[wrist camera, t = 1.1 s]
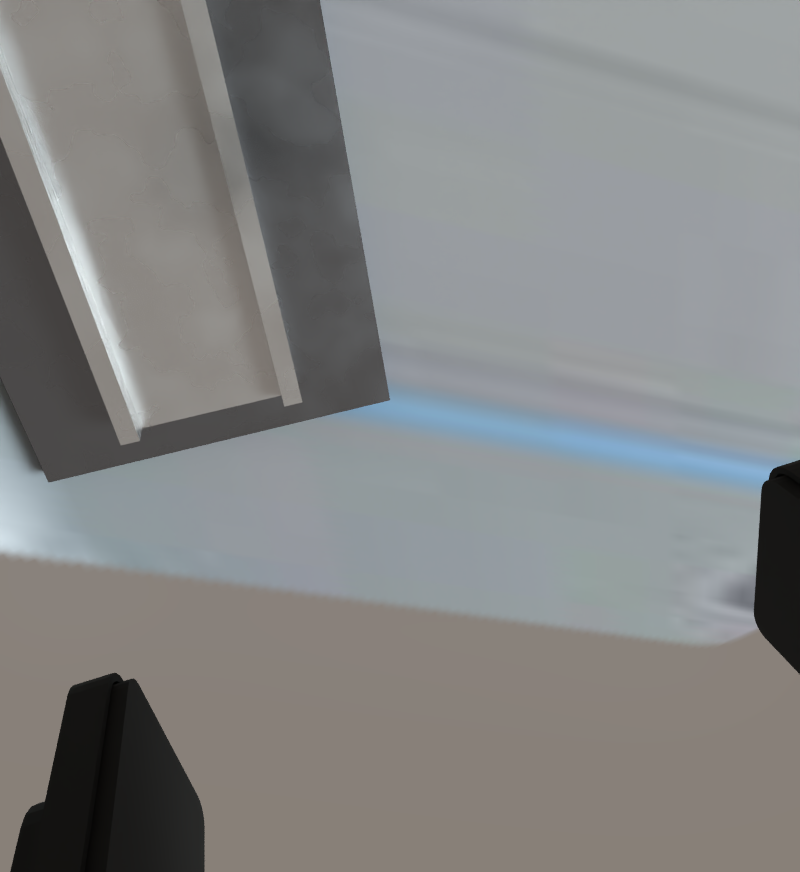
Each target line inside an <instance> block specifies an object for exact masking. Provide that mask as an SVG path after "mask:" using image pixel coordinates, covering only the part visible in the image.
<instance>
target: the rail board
mask: <svg viewBox="0 0 800 872" xmlns="http://www.w3.org/2000/svg"><path fill="white" fill-rule="evenodd" d="M0 378H1V380H2V382H3V384H4V386H5V389H6V391H7V393H8V395H9V397H10V399H11V402H12V404H13V406H14V408H15V410H16V412H17V415H18V417H19V419H20V421H21V423H22V426H23V428H24V430H25V432H26V434H27V436H28V439H29V441H30V443H31V445H32V447H33V449H34V452H35V454H36V456H37V458H38V460H39V462H40V465H41V467H42V469H43V471H44V473H45V476H46V478H47V480H48V482H53V481H57V480H61V479H65V478H69V477H73V476H77V475H82V474H86V473H90V472H94V471H98V470H102V469H106V468H111V467H115V466H119V465H123V464H127V463H131V462H135V461H140V460H144V459H148V458H152V457H156V456H160V455H165V454H169V453H173V452H177V451H181V450H185V449H189V448H194V447H198V446H202V445H206V444H210V443H214V442H218V441H223V440H227V439H231V438H235V437H239V436H243V435H247V434H252V433H256V432H260V431H264V430H268V429H272V428H276V427H281V426H285V425H289V424H293V423H297V422H301V421H305V420H310V419H314V418H318V417H322V416H326V415H330V414H334V413H339V412H343V411H347V410H351V409H355V408H359V407H363V406H368V405H372V404H376V403H380V402H384V401H388V400H390V398H389V392H388V387H387V381H386V375H385V370H384V364H383V358H382V352H381V347H380V341H379V335H378V330H377V324H376V318H375V313H374V307H373V301H372V296H371V290H370V284H369V278H368V273H367V267H366V261H365V256H364V250H363V244H362V239H361V233H360V227H359V221H358V216H357V210H356V204H355V199H354V193H353V187H352V182H351V176H350V170H349V165H348V159H347V153H346V147H345V142H344V136H343V130H342V125H341V119H340V113H339V108H338V102H337V96H336V90H335V85H334V79H333V73H332V68H331V62H330V56H329V51H328V45H327V39H326V34H325V28H324V22H323V16H322V11H321V5H320V0H0Z"/></svg>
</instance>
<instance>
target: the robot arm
mask: <svg viewBox="0 0 800 872" xmlns="http://www.w3.org/2000/svg"><path fill="white" fill-rule="evenodd" d="M754 617H755V621H756V624H757V626H758V628H759V630H760V632H761V633H762V634H763V636H764V637H765V638H766V639H767V640H768V641H769V642H770V643H771V644H772V646H773V647H774V648H775V649H776V650H777V651H778V652H779V653H780V654H781V655H782V656H783V657H784V658H785V659H786V660H787V661H788V662H789V663H790V664H791V665H792V667H794V669H795V670H796V671H797V672H798V673H800V460H798V461H795V462H792V463H789V464H785V465H782V466H779V467H776V468H774V469H773V470H772V471H771V473H770V476H769V480H768V481H765V482H764V484H763V486H762V492H761V508H760V523H759V539H758V555H757V571H756V587H755V602H754ZM10 872H204V817H203V811H202V807H201V803H200V800H199V798H198V796H197V794H196V792H195V790H194V788H193V787H192V784H191V782H190V781H189V779H188V777H187V775H186V773H185V771H184V769H183V767H182V765H181V763H180V762H179V760H178V758H177V756H176V754H175V752H174V750H173V748H172V746H171V745H170V743H169V741H168V739H167V737H166V735H165V733H164V731H163V729H162V727H161V726H160V724H159V722H158V720H157V718H156V716H155V714H154V712H153V710H152V709H151V707H150V705H149V703H148V701H147V699H146V698H145V695H144V693H143V692H142V690H141V688H140V686H139V684H138V683H137V681H136V680H135V679H130V680H126V681H123V680H122V678H121V677H120V675H118V674H117V673H112V674H109V675H105V676H102V677H99V678H96V679H93V680H89V681H86V682H83V683H80V684H77V685H74V686H72V687H71V688H70V690H69V693H68V696H67V700H66V705H65V710H64V715H63V720H62V724H61V729H60V733H59V738H58V743H57V748H56V752H55V758H54V762H53V766H52V771H51V776H50V781H49V785H48V790H47V795H46V799H45V802H42V803H39V804H36V805H34V806H32V807H31V808H30V809H29V811H28V812H27V813H26V815H25V817H24V820H23V823H22V826H21V829H20V833H19V838H18V842H17V846H16V850H15V854H14V858H13V863H12V867H11V871H10Z"/></svg>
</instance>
